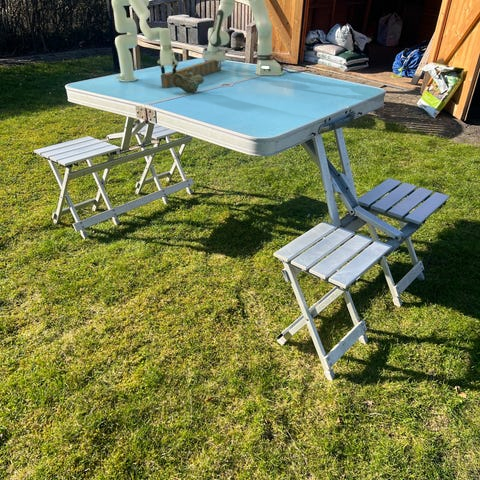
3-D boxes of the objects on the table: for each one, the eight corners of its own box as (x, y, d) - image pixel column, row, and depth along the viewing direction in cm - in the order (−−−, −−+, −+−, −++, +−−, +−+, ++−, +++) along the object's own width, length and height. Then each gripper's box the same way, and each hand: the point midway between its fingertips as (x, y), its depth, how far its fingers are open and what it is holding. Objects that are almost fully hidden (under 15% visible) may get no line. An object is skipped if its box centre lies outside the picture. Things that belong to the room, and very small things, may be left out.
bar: (167, 87, 317) (166, 75, 312) (161, 87, 319) (160, 74, 314) (221, 69, 375) (220, 58, 371) (216, 69, 377) (215, 58, 373)
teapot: (202, 89, 310) (201, 66, 302) (206, 92, 300) (205, 69, 293) (172, 92, 304) (169, 68, 296) (175, 95, 295) (173, 71, 287)
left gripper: (179, 47, 308) (182, 73, 317) (159, 47, 316) (162, 72, 324) (173, 48, 303) (176, 75, 311) (152, 48, 310) (155, 74, 318)
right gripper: (227, 48, 361) (227, 66, 368) (205, 47, 370) (206, 65, 377) (223, 49, 356) (223, 68, 363) (201, 48, 365) (202, 66, 372)
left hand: (169, 73), depth 318 cm, fingers open, 9 cm apart
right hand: (214, 66), depth 370 cm, fingers closed on bar, 5 cm apart
